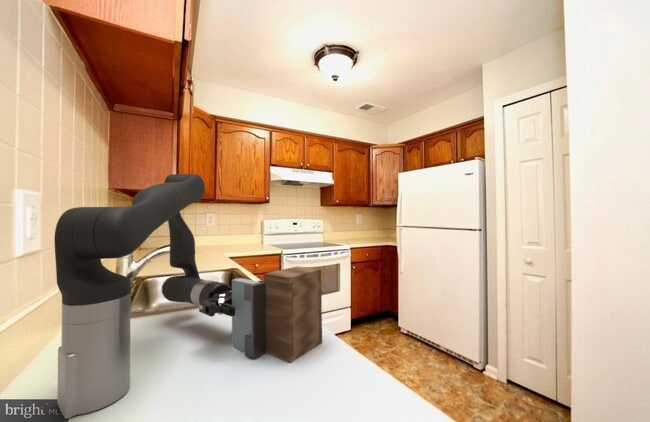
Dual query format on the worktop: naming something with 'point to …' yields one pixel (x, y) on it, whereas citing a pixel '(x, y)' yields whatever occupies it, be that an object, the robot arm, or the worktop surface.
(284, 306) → the cabinet
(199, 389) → the worktop surface
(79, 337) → the robot arm
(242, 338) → the door
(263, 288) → the hinge clips
